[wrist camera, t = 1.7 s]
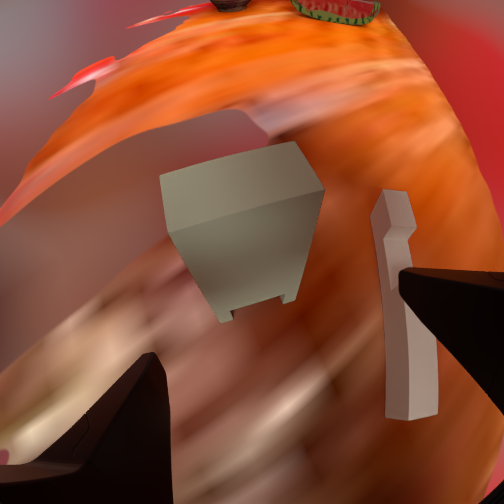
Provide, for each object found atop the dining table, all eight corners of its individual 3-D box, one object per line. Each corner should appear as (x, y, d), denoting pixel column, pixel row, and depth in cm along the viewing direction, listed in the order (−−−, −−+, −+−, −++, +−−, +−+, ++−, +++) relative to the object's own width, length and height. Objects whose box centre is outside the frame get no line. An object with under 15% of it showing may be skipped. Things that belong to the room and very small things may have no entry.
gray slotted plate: (282, 266, 23) (294, 140, 12) (294, 300, 22) (325, 189, 10) (211, 288, 23) (159, 175, 11) (220, 323, 21) (167, 232, 10)
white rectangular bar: (411, 413, 17) (437, 414, 13) (384, 417, 17) (408, 420, 13) (391, 217, 25) (406, 191, 22) (369, 215, 25) (382, 189, 22)
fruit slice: (374, 27, 58) (378, 1, 50) (376, 32, 56) (381, 4, 47) (290, 13, 63) (291, -13, 54) (288, 17, 60) (288, -11, 51)
